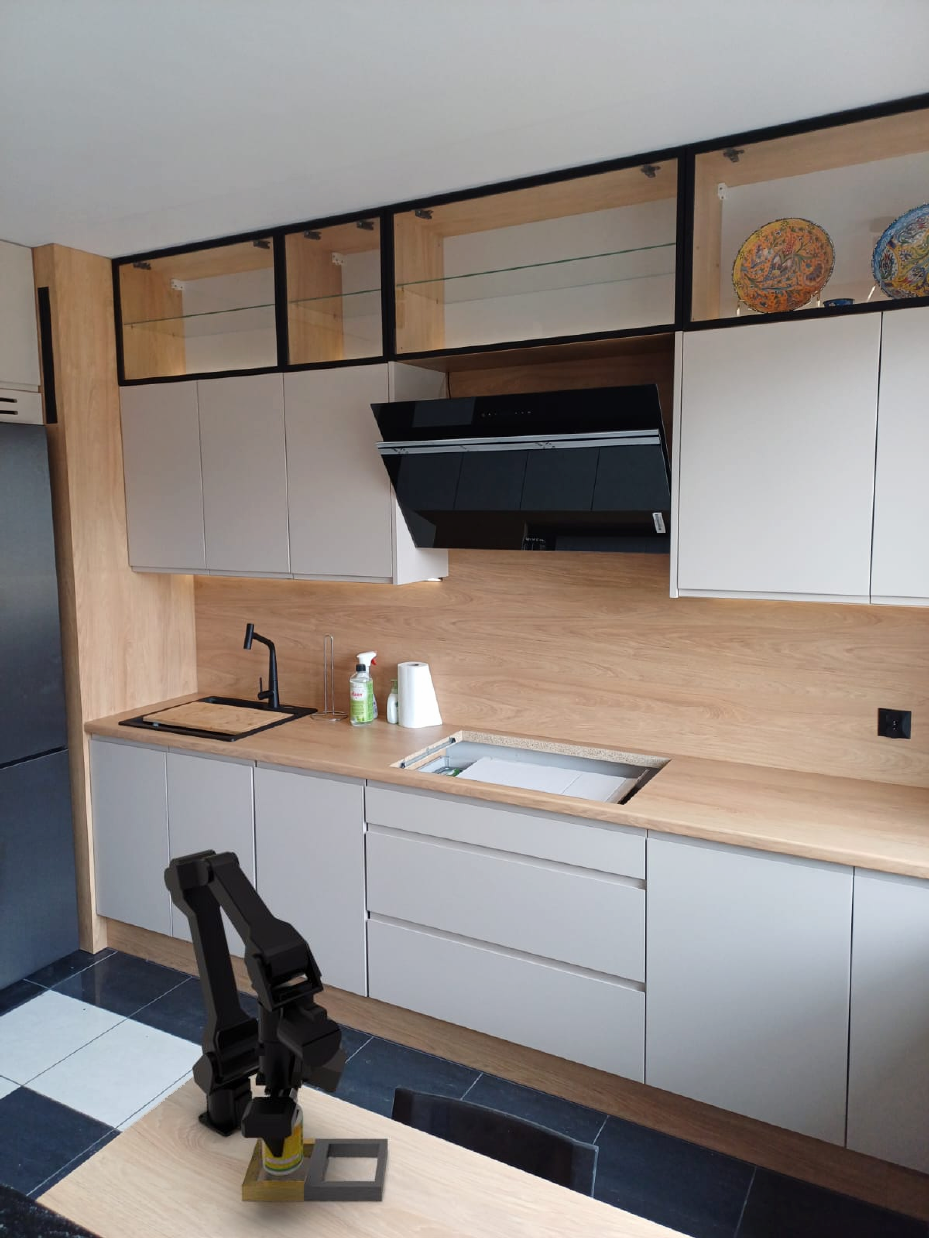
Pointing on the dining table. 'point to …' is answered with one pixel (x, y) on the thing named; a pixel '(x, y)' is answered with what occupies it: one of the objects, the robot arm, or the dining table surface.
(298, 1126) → the supplement bottle
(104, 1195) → the dining table surface
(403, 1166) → the dining table surface
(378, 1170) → the rectangular frame
